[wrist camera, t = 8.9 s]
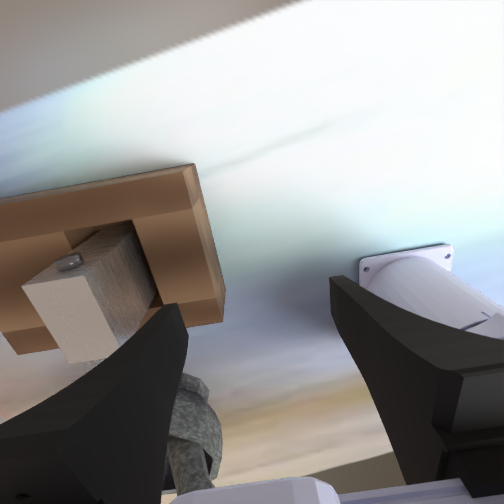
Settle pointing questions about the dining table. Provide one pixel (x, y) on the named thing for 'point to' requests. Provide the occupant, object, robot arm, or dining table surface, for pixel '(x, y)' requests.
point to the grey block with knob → (95, 294)
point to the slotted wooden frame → (105, 216)
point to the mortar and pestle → (192, 440)
